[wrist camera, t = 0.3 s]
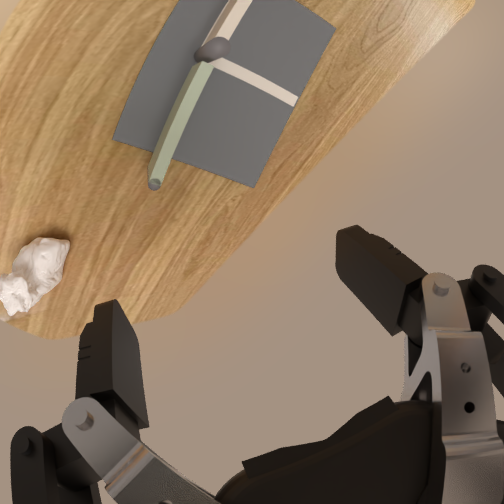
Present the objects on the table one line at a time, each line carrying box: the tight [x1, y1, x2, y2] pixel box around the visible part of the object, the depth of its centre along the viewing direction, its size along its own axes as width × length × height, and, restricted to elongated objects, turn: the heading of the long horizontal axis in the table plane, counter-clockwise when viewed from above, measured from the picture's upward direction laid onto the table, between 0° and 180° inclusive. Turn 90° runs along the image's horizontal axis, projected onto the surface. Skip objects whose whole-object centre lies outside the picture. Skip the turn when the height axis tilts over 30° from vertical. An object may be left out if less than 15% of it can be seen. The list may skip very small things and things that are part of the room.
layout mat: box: [112, 0, 336, 188], centre depth 28 cm, size 24×18×1 cm
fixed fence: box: [194, 0, 253, 63], centre depth 22 cm, size 13×2×8 cm, turn 153°
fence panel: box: [148, 61, 214, 191], centre depth 27 cm, size 13×1×6 cm, turn 153°
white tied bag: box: [0, 237, 70, 316], centre depth 28 cm, size 12×8×11 cm
